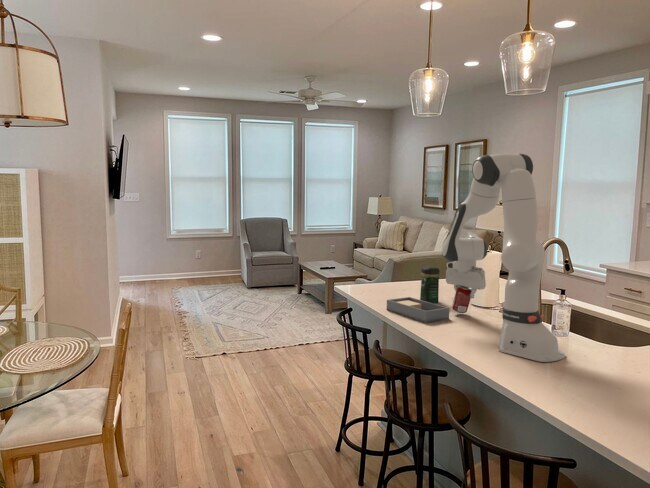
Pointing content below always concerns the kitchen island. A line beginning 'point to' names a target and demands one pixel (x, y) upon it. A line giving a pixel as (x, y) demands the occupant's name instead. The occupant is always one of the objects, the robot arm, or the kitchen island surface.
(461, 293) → the soda can
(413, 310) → the tray
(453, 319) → the kitchen island surface
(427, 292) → the coffee jar
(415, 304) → the tan square block
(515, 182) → the robot arm
